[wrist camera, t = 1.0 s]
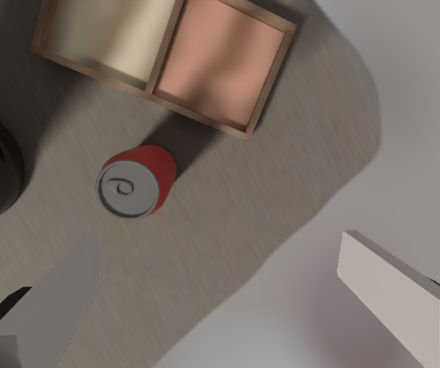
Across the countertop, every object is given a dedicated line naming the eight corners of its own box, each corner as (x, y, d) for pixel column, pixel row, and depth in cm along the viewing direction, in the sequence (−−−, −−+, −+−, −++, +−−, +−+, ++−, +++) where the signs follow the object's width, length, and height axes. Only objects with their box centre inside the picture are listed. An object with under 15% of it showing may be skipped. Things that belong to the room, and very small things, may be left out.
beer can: (135, 136, 34) (101, 141, 22) (184, 154, 35) (176, 169, 23) (119, 183, 35) (79, 212, 23) (167, 200, 36) (151, 236, 24)
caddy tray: (43, 57, 31) (29, 50, 28) (77, -71, 29) (64, -91, 26) (245, 140, 35) (248, 142, 32) (289, 33, 32) (297, 25, 30)
